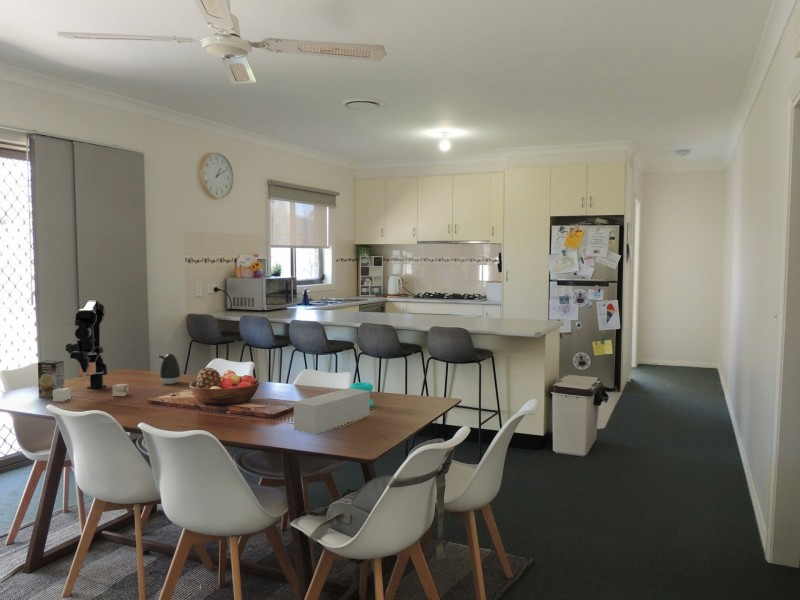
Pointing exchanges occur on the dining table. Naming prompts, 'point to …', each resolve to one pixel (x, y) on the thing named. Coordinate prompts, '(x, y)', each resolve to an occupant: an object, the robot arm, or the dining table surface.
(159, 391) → the dining table surface
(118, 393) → the maple block
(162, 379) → the pump dispenser
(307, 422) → the stack of papers
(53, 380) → the coffee box
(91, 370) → the terracotta block
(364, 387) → the donuts
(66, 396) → the offwhite block
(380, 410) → the dining table surface
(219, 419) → the dining table surface
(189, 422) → the dining table surface
